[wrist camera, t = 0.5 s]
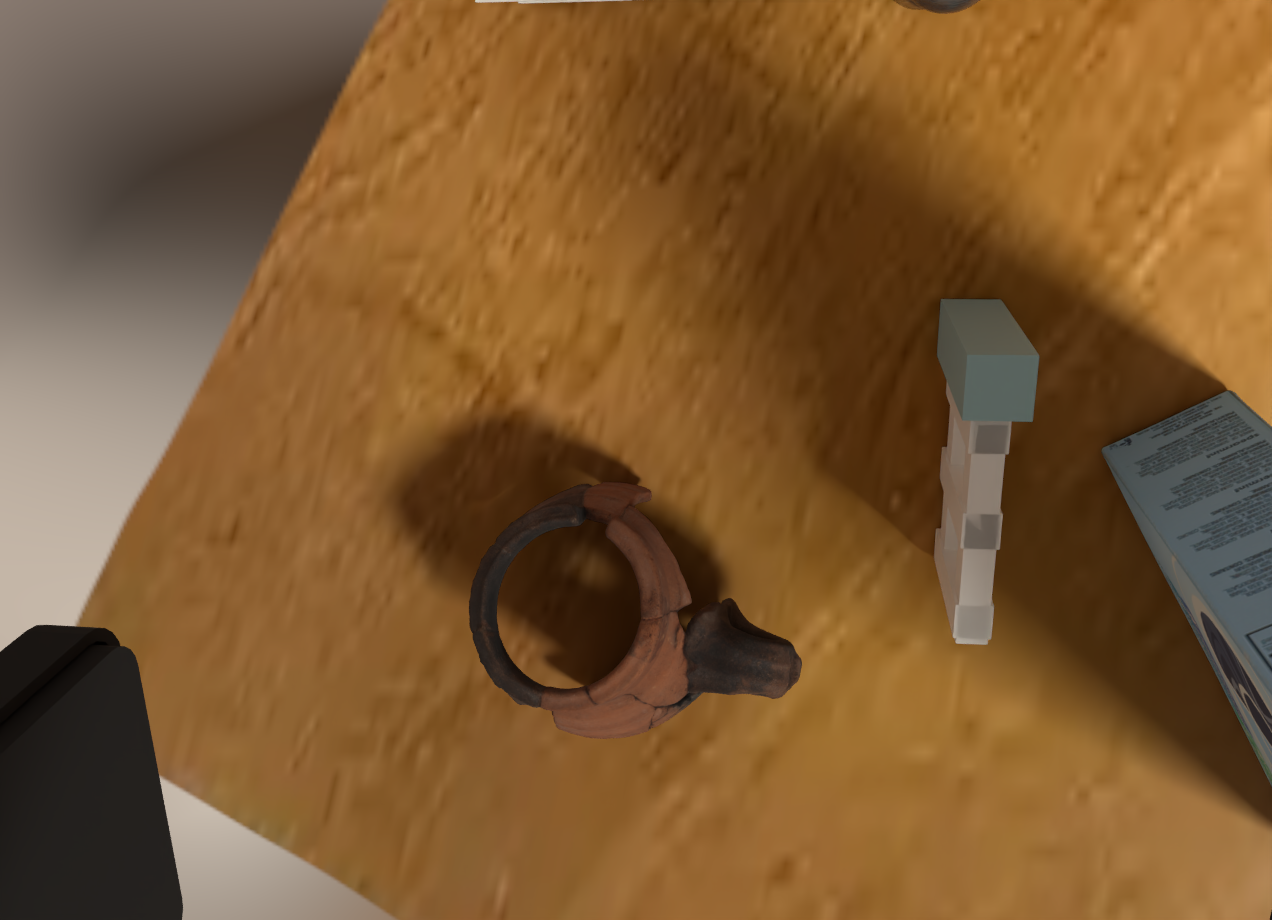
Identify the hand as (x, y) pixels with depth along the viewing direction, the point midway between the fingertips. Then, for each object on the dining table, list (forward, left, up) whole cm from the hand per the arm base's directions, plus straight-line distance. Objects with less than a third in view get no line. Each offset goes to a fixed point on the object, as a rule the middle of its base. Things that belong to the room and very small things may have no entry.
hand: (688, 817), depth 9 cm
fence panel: (+9, +7, -33) cm, 35 cm away
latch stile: (+4, +7, -33) cm, 34 cm away
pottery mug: (+15, -5, -33) cm, 37 cm away
